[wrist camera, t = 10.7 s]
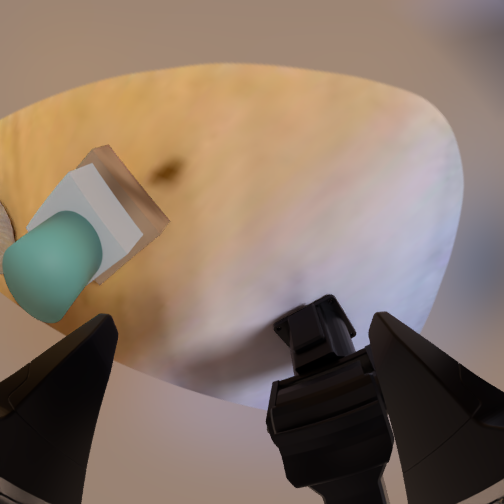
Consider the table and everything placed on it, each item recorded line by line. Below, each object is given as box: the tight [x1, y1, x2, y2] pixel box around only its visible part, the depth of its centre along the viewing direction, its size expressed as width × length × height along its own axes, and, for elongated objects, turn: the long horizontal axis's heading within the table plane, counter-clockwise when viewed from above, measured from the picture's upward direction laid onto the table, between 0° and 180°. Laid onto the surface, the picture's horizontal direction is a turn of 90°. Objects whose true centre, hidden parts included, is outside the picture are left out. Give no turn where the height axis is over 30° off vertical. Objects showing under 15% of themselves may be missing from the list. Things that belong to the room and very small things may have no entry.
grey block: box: [26, 163, 143, 286], centre depth 16 cm, size 6×6×3 cm
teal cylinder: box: [2, 210, 103, 323], centre depth 13 cm, size 5×5×5 cm
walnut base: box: [76, 145, 170, 285], centre depth 19 cm, size 8×8×3 cm
